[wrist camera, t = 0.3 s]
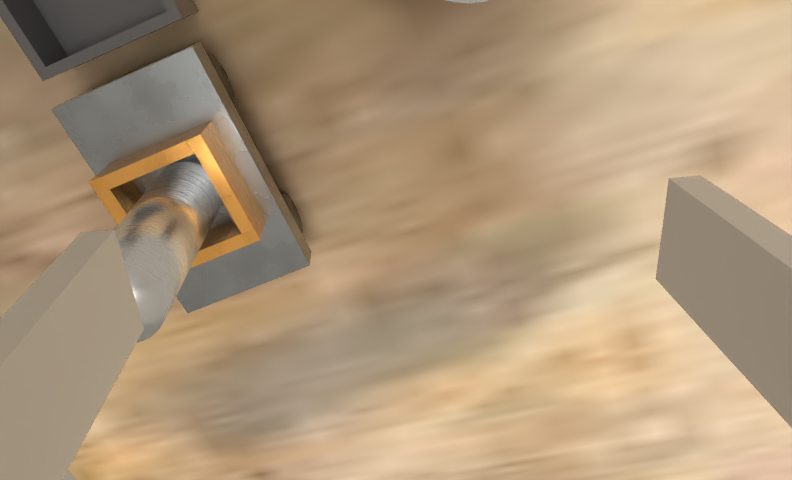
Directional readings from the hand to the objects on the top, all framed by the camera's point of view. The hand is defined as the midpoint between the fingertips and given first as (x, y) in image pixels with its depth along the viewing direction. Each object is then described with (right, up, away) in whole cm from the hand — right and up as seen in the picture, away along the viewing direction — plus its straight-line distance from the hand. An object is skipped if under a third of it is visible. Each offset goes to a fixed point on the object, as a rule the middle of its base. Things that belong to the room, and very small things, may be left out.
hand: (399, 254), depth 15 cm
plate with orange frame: (-13, +5, +27) cm, 31 cm away
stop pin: (-13, +3, +23) cm, 26 cm away
